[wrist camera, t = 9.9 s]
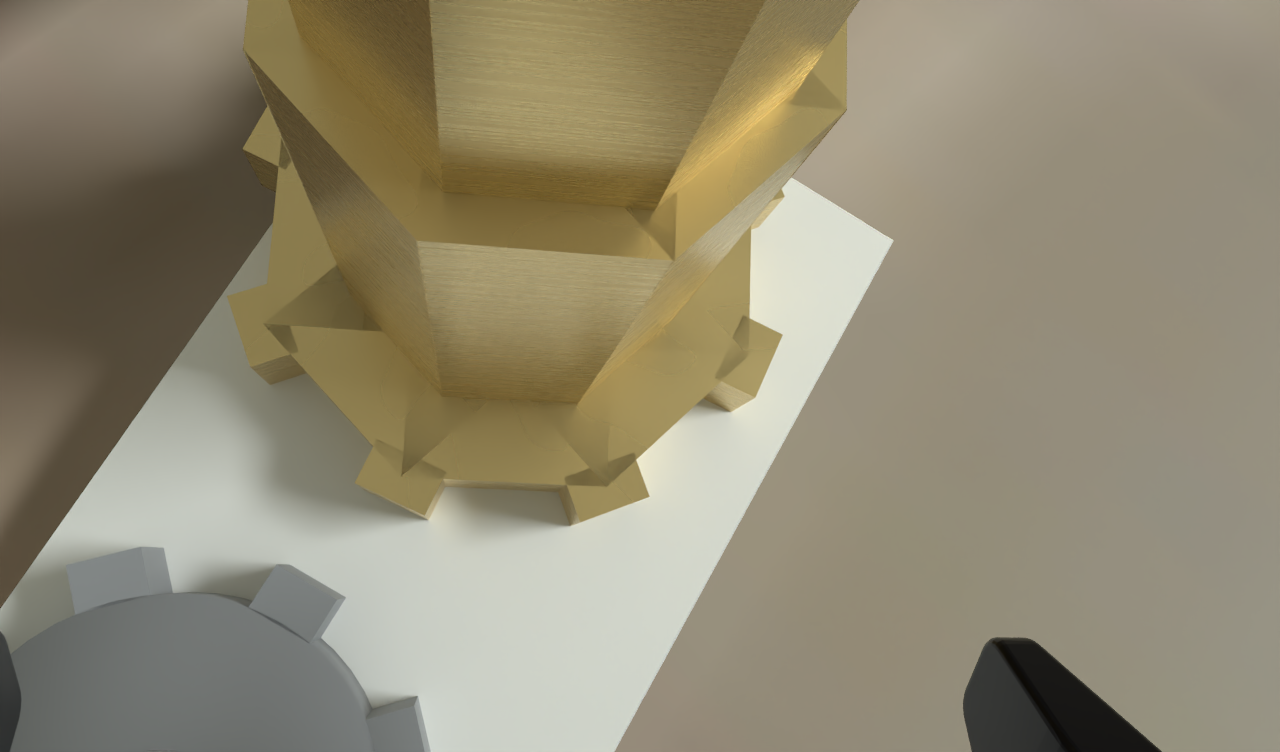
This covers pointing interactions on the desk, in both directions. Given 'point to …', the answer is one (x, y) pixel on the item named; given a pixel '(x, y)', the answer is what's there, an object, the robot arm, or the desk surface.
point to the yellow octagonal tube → (526, 223)
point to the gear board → (392, 557)
